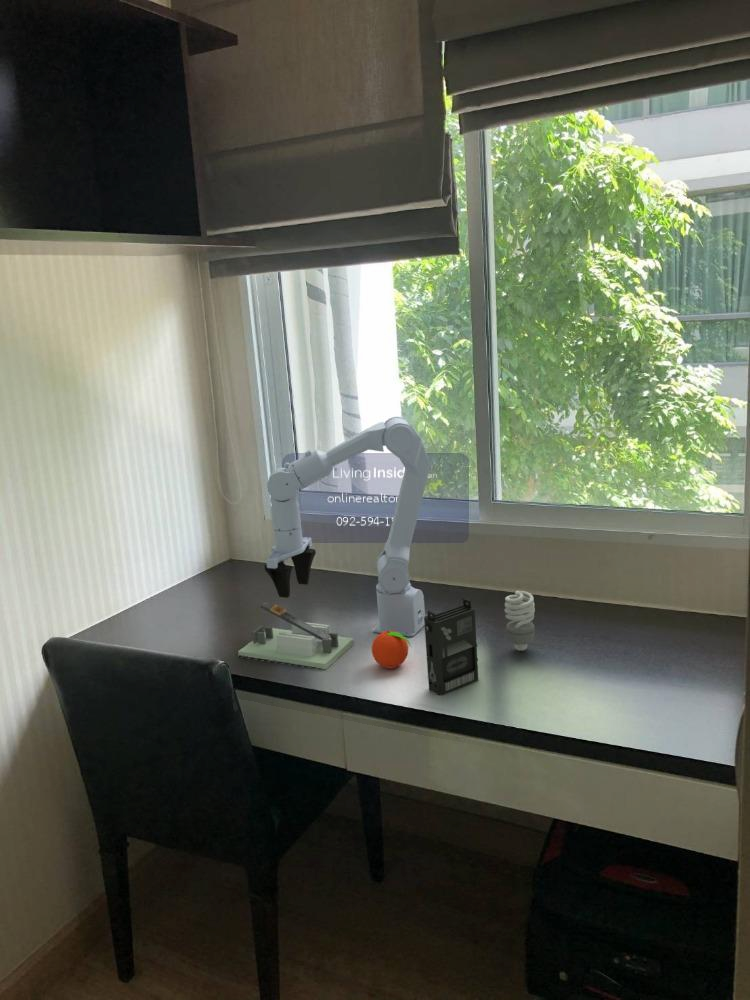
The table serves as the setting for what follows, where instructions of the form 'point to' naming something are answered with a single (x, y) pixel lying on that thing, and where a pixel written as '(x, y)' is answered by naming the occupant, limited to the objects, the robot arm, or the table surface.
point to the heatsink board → (296, 646)
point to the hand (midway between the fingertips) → (294, 590)
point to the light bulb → (520, 619)
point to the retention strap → (295, 621)
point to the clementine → (390, 649)
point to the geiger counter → (451, 648)
